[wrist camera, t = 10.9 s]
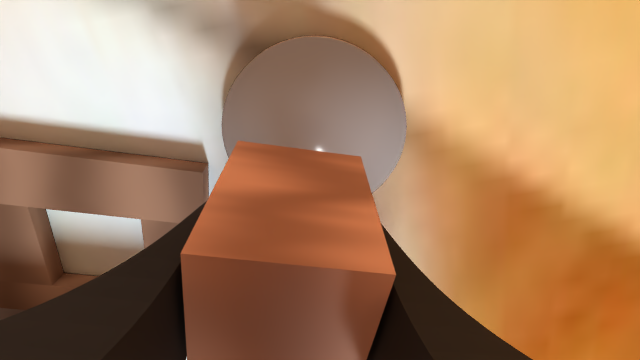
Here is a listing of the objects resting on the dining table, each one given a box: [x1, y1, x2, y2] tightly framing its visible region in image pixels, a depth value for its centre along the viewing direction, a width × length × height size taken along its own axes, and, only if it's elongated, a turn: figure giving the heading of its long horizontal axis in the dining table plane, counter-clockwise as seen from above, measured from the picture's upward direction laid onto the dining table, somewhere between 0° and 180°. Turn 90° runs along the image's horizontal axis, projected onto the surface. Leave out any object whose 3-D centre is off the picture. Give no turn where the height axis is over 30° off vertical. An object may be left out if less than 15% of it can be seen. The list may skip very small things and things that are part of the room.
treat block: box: [180, 141, 396, 360], centre depth 11 cm, size 4×4×6 cm
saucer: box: [222, 35, 407, 193], centre depth 19 cm, size 10×10×1 cm
